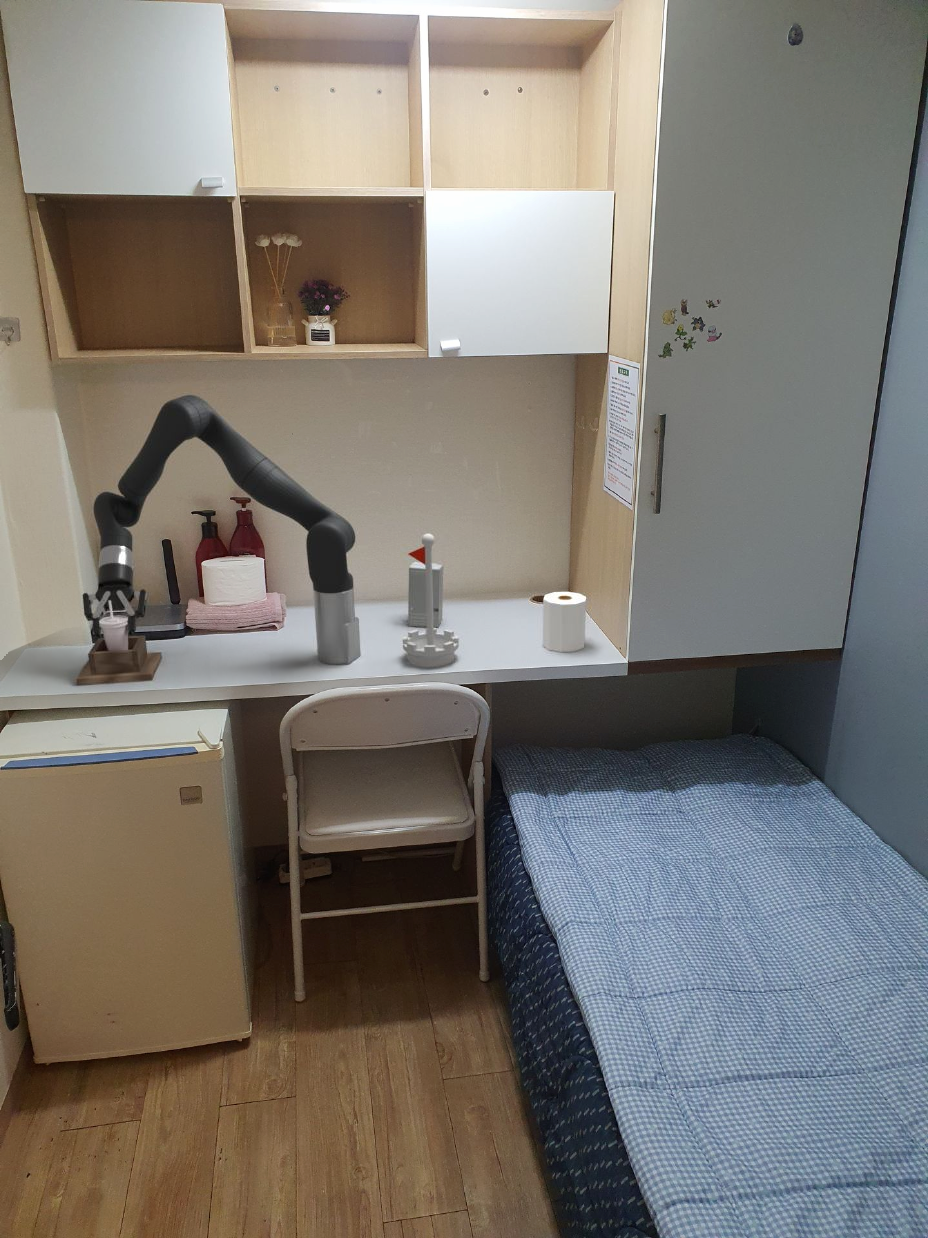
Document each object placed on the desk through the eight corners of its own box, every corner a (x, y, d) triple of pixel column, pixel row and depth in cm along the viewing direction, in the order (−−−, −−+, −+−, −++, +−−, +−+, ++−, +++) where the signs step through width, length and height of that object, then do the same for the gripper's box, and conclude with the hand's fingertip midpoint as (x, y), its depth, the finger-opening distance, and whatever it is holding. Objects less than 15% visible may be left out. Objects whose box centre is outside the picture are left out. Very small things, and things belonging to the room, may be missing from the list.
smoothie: (124, 652, 211) (116, 595, 206) (140, 658, 207) (131, 600, 202) (99, 660, 206) (90, 602, 201) (114, 667, 202) (105, 607, 198)
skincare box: (408, 627, 234) (406, 567, 229) (413, 618, 241) (411, 560, 236) (440, 628, 233) (439, 568, 228) (444, 619, 239) (443, 561, 234)
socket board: (161, 657, 215) (158, 632, 213) (152, 680, 202) (148, 653, 200) (91, 662, 213) (87, 636, 210) (76, 685, 199) (72, 657, 197)
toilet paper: (587, 652, 215) (589, 603, 212) (544, 652, 215) (545, 604, 211) (582, 637, 225) (583, 591, 221) (540, 638, 225) (541, 591, 221)
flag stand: (467, 652, 216) (465, 529, 206) (445, 671, 205) (443, 542, 195) (417, 646, 221) (413, 525, 211) (393, 664, 209) (388, 538, 200)
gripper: (79, 563, 205) (76, 629, 198) (145, 559, 208) (144, 624, 201) (87, 579, 212) (84, 644, 205) (151, 575, 214) (150, 639, 207)
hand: (114, 634), depth 203 cm, fingers closed on smoothie, 6 cm apart
